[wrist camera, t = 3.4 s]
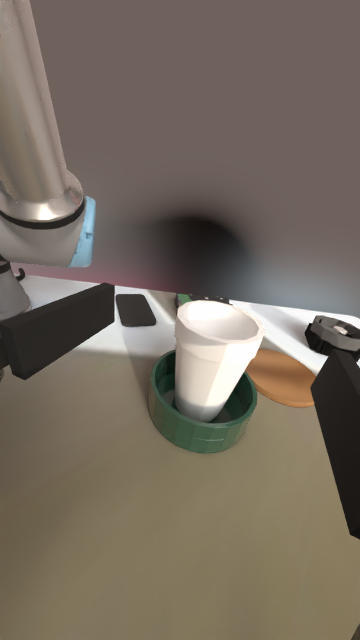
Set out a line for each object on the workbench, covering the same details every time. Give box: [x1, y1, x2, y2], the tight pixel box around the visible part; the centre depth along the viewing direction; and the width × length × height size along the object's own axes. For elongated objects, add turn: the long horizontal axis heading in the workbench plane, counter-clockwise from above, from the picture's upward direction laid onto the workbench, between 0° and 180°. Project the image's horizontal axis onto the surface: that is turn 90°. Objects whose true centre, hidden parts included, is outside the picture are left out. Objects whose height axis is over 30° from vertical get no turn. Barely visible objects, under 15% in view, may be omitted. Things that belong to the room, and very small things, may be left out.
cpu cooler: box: [305, 316, 360, 362], centre depth 47 cm, size 10×6×10 cm
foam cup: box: [174, 300, 265, 422], centre depth 26 cm, size 10×9×13 cm
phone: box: [116, 294, 156, 326], centre depth 50 cm, size 7×1×15 cm
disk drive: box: [175, 293, 233, 310], centre depth 55 cm, size 10×3×15 cm
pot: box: [148, 349, 257, 453], centre depth 28 cm, size 13×13×4 cm
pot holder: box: [245, 349, 316, 407], centre depth 36 cm, size 13×13×1 cm
